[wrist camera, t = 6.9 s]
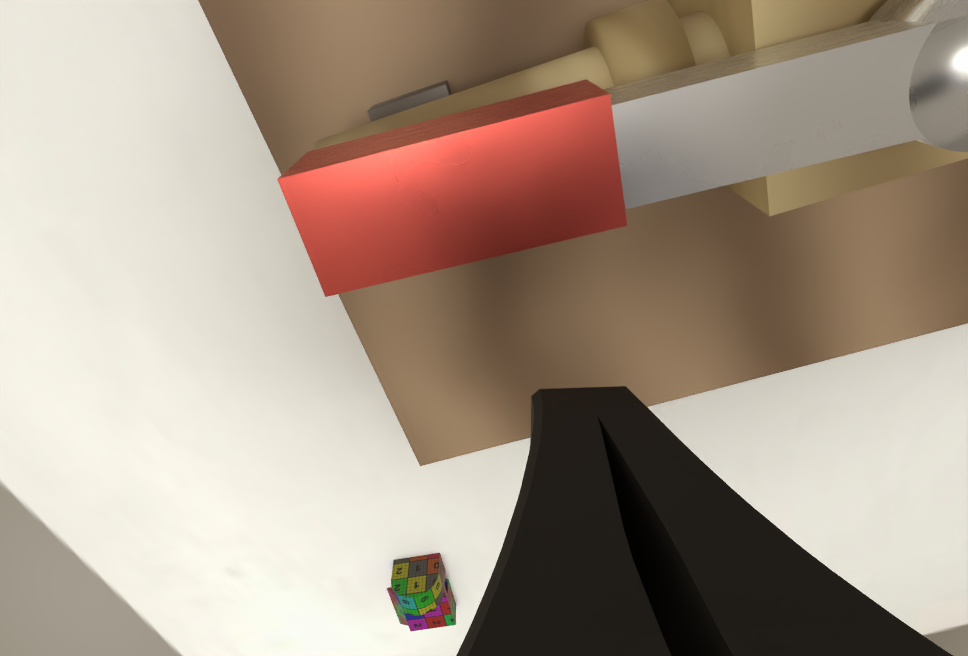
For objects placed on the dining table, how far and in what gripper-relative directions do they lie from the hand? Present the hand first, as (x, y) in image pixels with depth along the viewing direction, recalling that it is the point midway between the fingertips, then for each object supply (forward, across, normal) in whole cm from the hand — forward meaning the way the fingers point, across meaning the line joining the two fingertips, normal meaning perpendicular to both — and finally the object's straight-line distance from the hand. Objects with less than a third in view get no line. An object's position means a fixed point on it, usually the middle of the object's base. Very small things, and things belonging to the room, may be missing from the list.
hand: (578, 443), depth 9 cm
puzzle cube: (+11, +4, +16) cm, 20 cm away
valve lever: (+4, -2, -4) cm, 6 cm away
